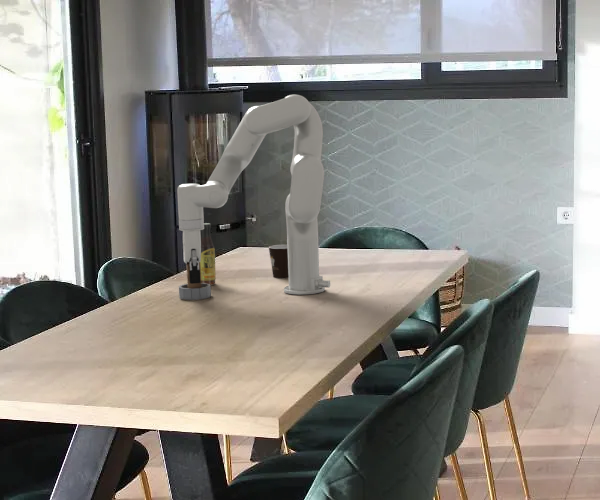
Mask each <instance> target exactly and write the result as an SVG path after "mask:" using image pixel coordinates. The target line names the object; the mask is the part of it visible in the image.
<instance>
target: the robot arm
mask: <svg viewBox="0 0 600 500" xmlns="http://www.w3.org/2000/svg"><path fill="white" fill-rule="evenodd" d="M291 127H293V130H294V131H293V132H294V138H293V139H294V140H293V151H292V157H291V158H292V160H291V163H290V169H289V170H290V174H291V180H290V190H289V194H288V195H287V196H286V199H285V205H284V207H285V219H286V220H285V221H286V223H285V224H286V238H287V239H286V243H287V244H286V245H287V249H288V276H289V278H288V285H287V286H284V287H283V292H284V293H286V294H290V295H300V296H301V295H303V296H304V295H314V294H320V293H323V292H324V291H325V290H326V288H330V287H331V280H324V278H323V275H320V255H319V254H320V253H319V252H320V251H319V224H318V223H319V222H318V215H319V213H320V210H321V204H322V197H323V188H324V178H325V168H324V164H323V162H322V160H321V159H322V150H323V139H324V138H323V137H324V136H323V131H324V130H323V123H322V119H321V117H320V114H319V112H318V111H317V109H316V108H315V106H314V105H313V104H311V102H310V101H309V100H308V99H307V98H306V97H305V96H303V95H300V94H289V95H287V96H285V97H284V98H281V99H278V100H275V101H273V102H272V101H271V102H269V103H266V104H261V105H254V106H251V107H250V108H248V110H247V111H246V112H245V114H244V116H242V119H241V121H240V122H239V123H238V126H237V128H236V129H235V131H234V133H233V134H232V137H231V138H230V139H229V141H228V143H227V145H226V146H225V149H224V151H223V152H222V155H221V157H220V158H219V161H218V162H217V164H216V166H215V167H214V170H213V171H212V173H211V175H210V176H209V178H208V180H207V181H206V183H205V184H202V185H200V184H199V183H182V184H180V185H178V186H177V191H176V192H177V209H178V211H177V213H178V227H179V229H178V230H179V231H181V232H182V249H183V262H184V263H185V264H186V263H187V262H189V263H190V270H189V277H190V283H191V284H193V283H200V282H201V281H200V270H199V262H200V261H201V235H200V230H203V229H204V222H205V221H204V220H205V218H204V208H209V209H218V208H222V207H223V206H224V205H226V203H227V202H228V199H229V193H230V191H231V190H232V188H233V187H234V184H235V183H236V182H237V179H238V178H239V176H240V175H241V173H242V171H244V170H245V169H246V168H247V167H248V165H250V163H251V162H252V160H253V158H254V156H255V154H256V152H257V150H258V149H259V147H260V146H261V144H262V142H263V140H264V139H265V137H266V135H267V134H271V133H275V132H278V131H281V130H283V129H289V128H291Z"/></svg>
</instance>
